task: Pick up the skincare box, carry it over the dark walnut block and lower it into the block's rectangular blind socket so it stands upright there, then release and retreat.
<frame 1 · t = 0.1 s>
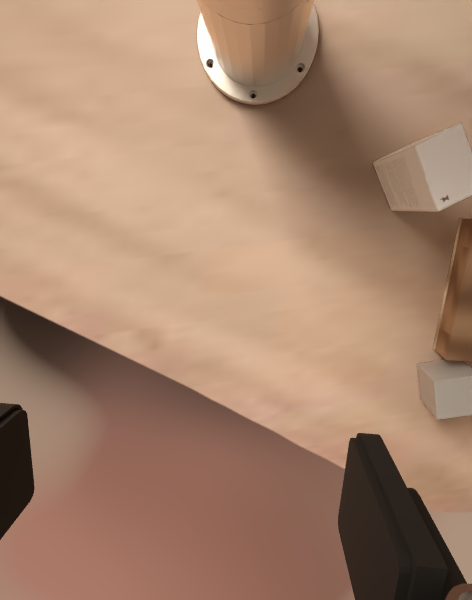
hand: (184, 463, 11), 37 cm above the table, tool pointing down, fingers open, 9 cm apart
grey cube: (438, 378, 48), on the table
skincare box: (398, 178, 43), on the table
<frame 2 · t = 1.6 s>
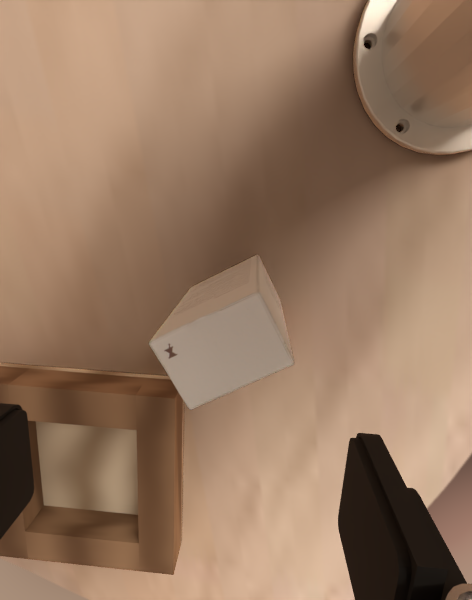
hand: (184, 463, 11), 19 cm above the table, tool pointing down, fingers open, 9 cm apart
skincare box: (237, 293, 30), on the table
socket block: (95, 455, 34), on the table
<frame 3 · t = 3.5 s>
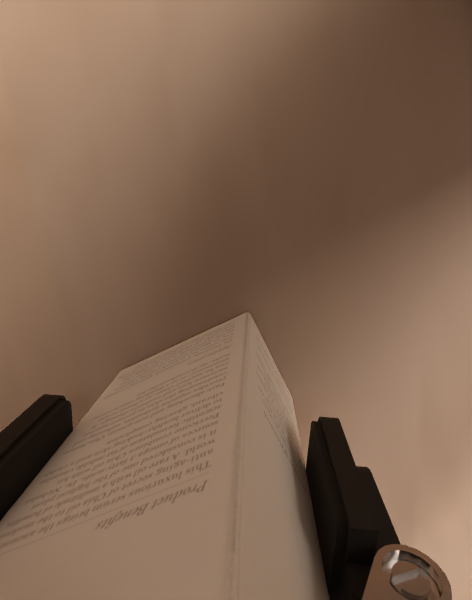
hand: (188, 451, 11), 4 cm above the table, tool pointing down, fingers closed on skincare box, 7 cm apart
skincare box: (209, 380, 16), on the table, touching gripper
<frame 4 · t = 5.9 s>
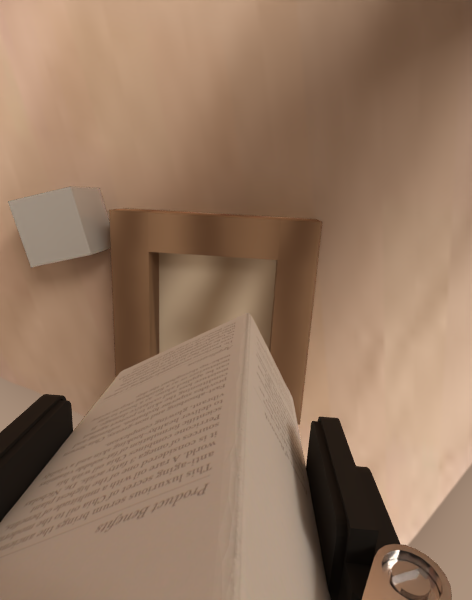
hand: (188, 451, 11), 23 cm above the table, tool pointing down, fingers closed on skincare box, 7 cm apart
grey cube: (81, 223, 33), on the table
skincare box: (209, 381, 16), point 18 cm above the table, touching gripper
socket block: (215, 310, 34), on the table
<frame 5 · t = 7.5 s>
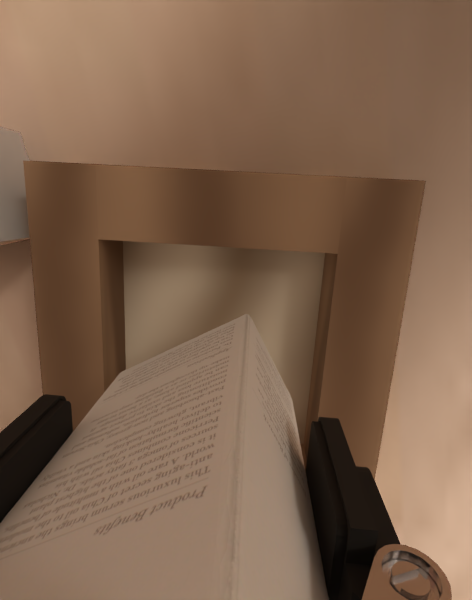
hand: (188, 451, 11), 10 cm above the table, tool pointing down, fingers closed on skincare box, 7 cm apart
skincare box: (209, 382, 16), point 5 cm above the table, touching gripper
socket block: (219, 340, 20), on the table
when the fingers open (5 cm above the table, at t = 8.9 s): skincare box stays where it is, resting on socket block.
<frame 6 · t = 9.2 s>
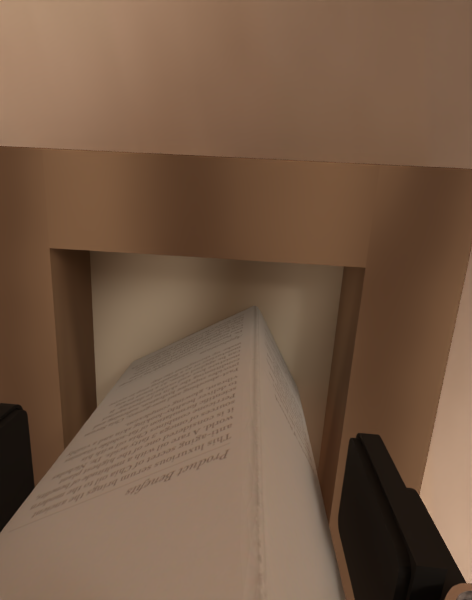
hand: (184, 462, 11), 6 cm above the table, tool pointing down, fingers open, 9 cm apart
skincare box: (218, 371, 16), resting on socket block
socket block: (211, 370, 17), on the table
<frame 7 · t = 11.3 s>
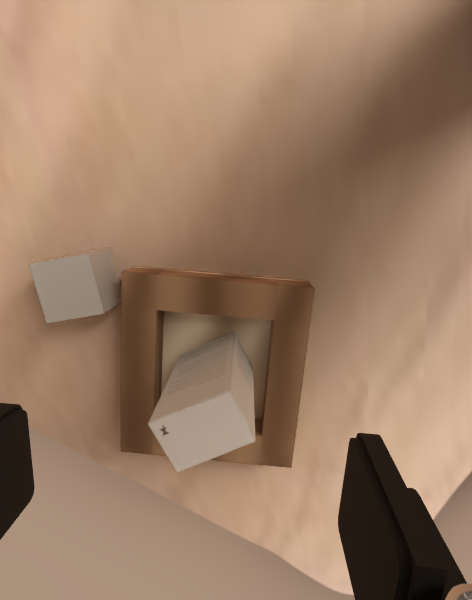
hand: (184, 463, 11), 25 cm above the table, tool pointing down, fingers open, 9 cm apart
grey cube: (92, 278, 35), on the table
skincare box: (217, 360, 36), resting on socket block
socket block: (215, 359, 37), on the table
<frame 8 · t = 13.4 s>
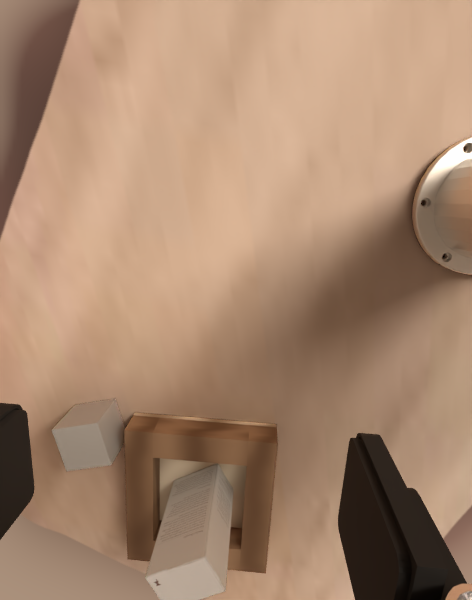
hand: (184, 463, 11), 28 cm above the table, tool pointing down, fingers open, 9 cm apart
grey cube: (101, 420, 43), on the table
skincare box: (204, 483, 44), resting on socket block
socket block: (202, 481, 45), on the table
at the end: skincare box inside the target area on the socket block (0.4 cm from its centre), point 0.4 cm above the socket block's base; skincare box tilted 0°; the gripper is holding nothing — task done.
